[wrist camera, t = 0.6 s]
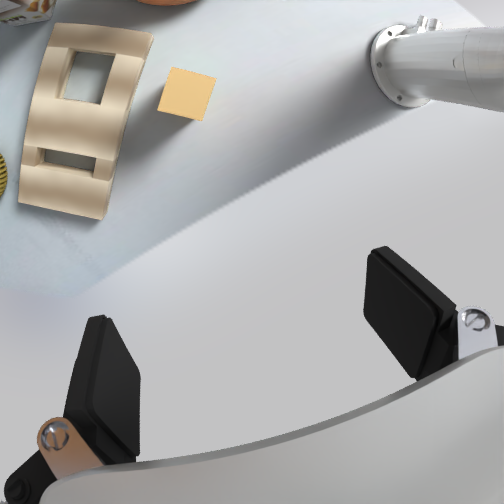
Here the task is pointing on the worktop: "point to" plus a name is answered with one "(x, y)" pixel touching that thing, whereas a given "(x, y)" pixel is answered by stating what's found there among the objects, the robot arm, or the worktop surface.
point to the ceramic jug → (165, 2)
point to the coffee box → (25, 11)
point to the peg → (186, 94)
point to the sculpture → (2, 175)
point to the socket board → (79, 119)
